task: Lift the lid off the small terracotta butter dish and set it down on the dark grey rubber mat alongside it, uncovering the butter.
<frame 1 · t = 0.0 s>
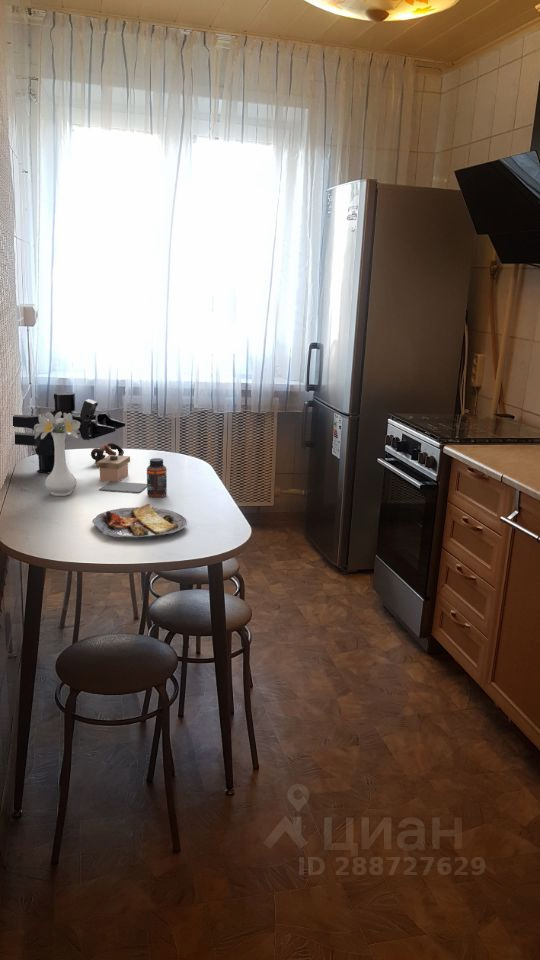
hand: (120, 427, 252), 17 cm above the table, tool horizontal, fingers open, 9 cm apart
food plate: (139, 528, 204), on the table
lid: (113, 464, 252), point 4 cm above the table, touching dish
flower vase: (60, 493, 234), on the table
dish: (114, 477, 253), on the table
supplement bottle: (157, 496, 234), on the table
dark brown looped piece: (106, 464, 273), on the table
mat: (124, 487, 242), on the table
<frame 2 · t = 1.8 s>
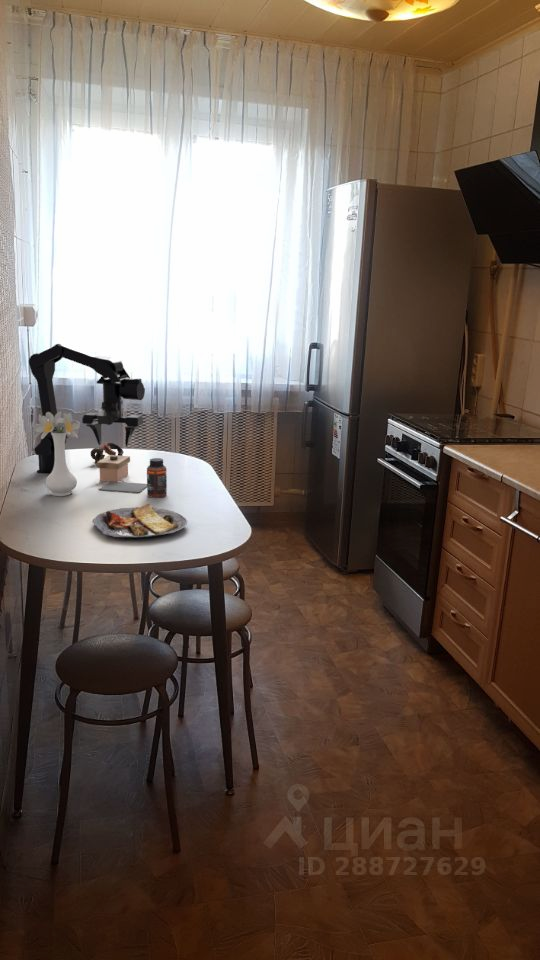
hand: (113, 445, 251), 11 cm above the table, tool pointing down, fingers open, 9 cm apart
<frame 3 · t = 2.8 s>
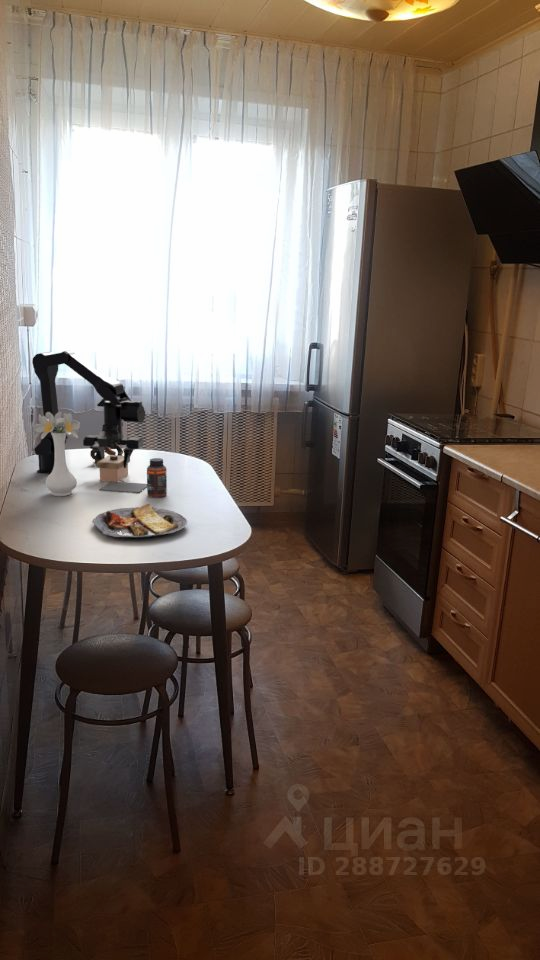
hand: (114, 467, 252), 4 cm above the table, tool pointing down, fingers closed on lid, 7 cm apart
lid: (113, 464, 252), point 4 cm above the table, touching dish, gripper
everything else where it was.
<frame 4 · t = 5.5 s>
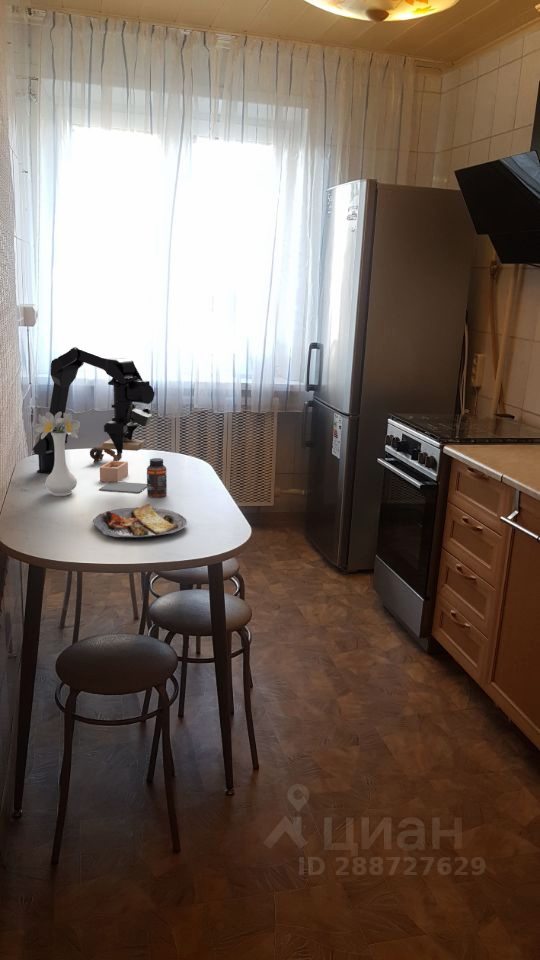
hand: (124, 450, 239), 12 cm above the table, tool pointing down, fingers closed on lid, 7 cm apart
lid: (124, 447, 239), point 13 cm above the table, touching gripper
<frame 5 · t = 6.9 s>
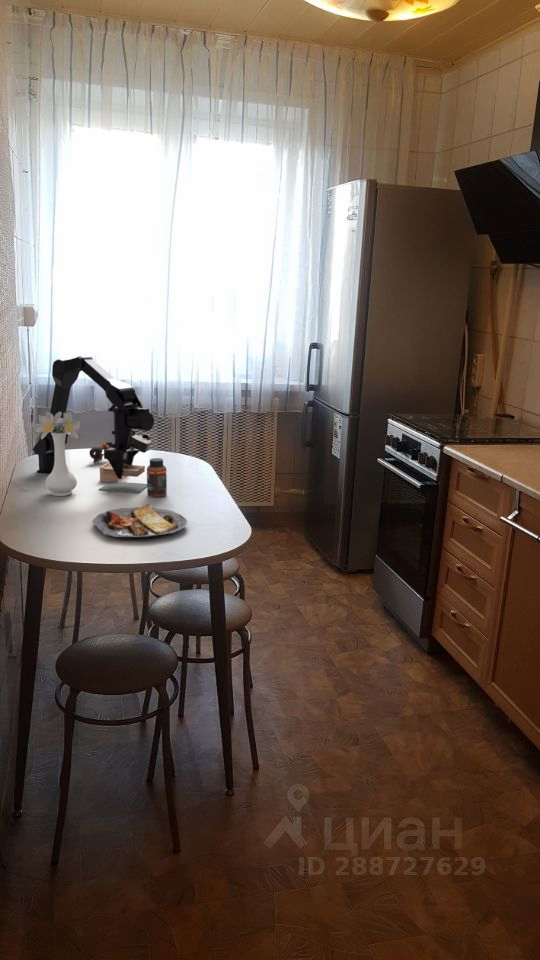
hand: (124, 475, 241), 4 cm above the table, tool pointing down, fingers closed on lid, 7 cm apart
lid: (124, 472, 241), point 5 cm above the table, touching gripper
when the fingers open (2 cm above the table, at t = 8.0 s): lid drops 2 cm, resting on mat.
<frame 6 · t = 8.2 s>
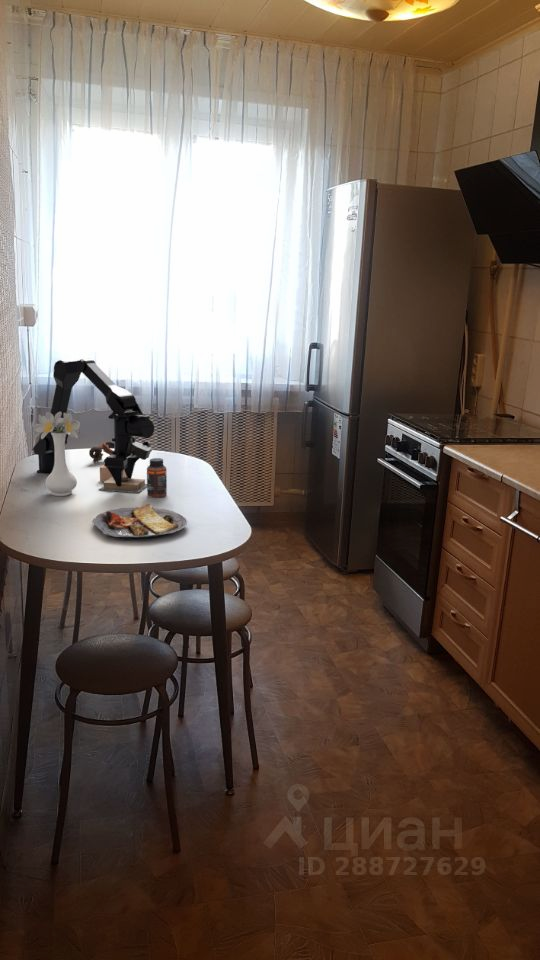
hand: (124, 482, 241), 2 cm above the table, tool pointing down, fingers open, 9 cm apart
lid: (124, 486, 242), resting on mat
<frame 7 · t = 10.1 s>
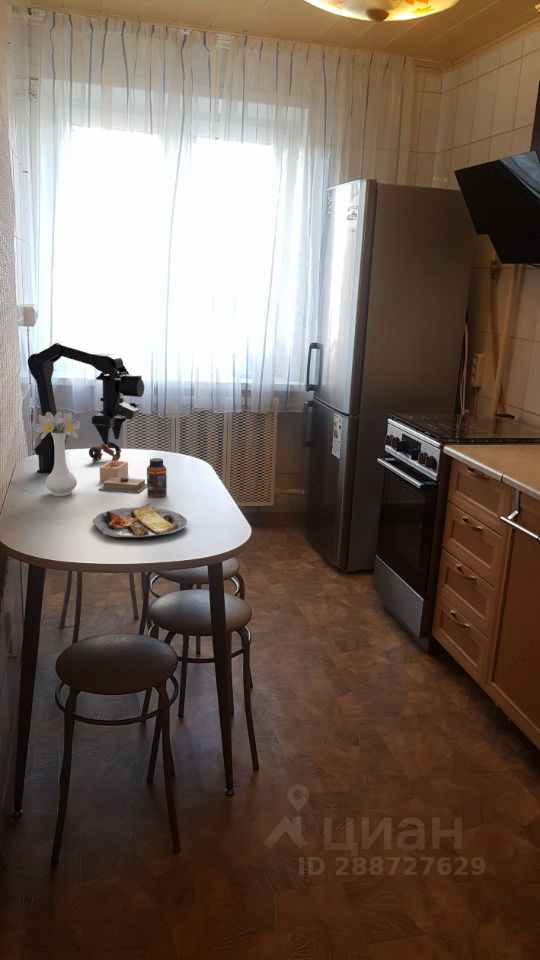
hand: (111, 441, 251), 12 cm above the table, tool pointing down, fingers open, 9 cm apart
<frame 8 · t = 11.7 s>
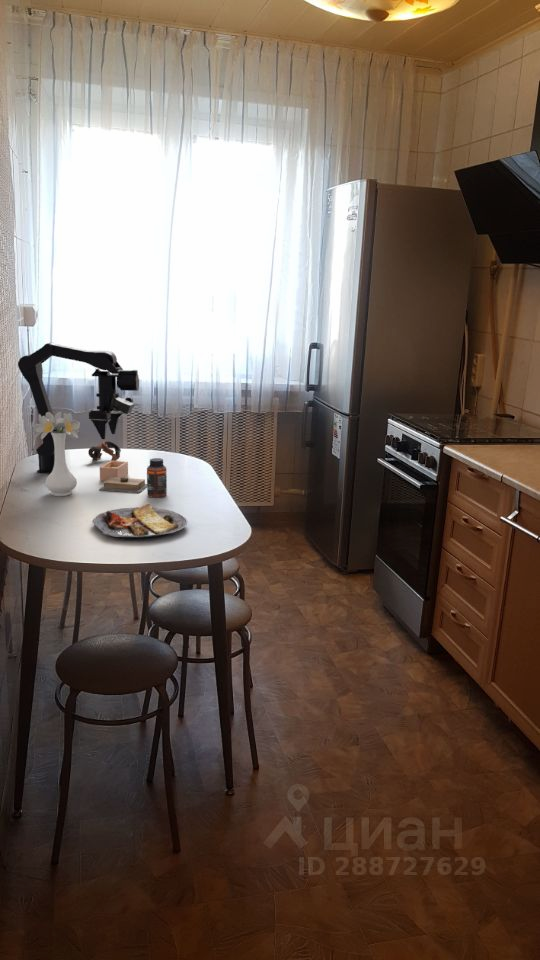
hand: (108, 436, 257), 13 cm above the table, tool pointing down, fingers open, 9 cm apart
at the end: lid inside the target area on the mat (0.0 cm from its centre), point 0.4 cm above the mat's base; lid tilted 0°; lid touching mat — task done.
